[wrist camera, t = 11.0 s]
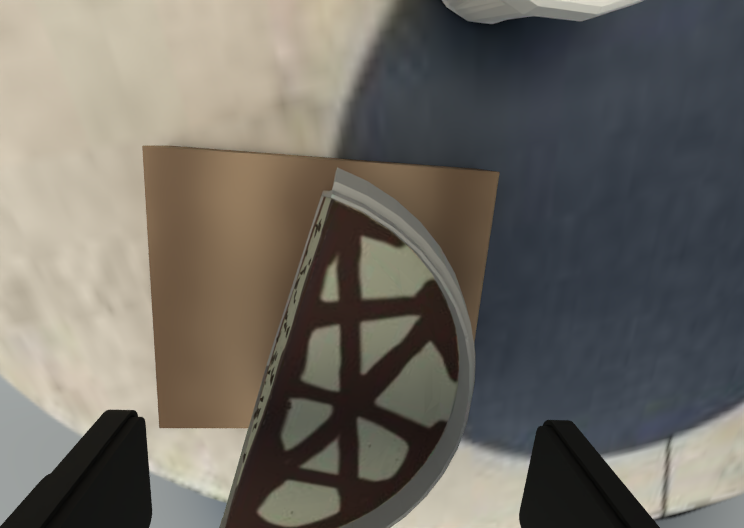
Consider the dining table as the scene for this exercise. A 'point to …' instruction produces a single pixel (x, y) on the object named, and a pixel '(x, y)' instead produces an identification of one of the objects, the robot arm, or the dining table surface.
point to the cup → (533, 9)
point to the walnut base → (267, 259)
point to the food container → (358, 374)
